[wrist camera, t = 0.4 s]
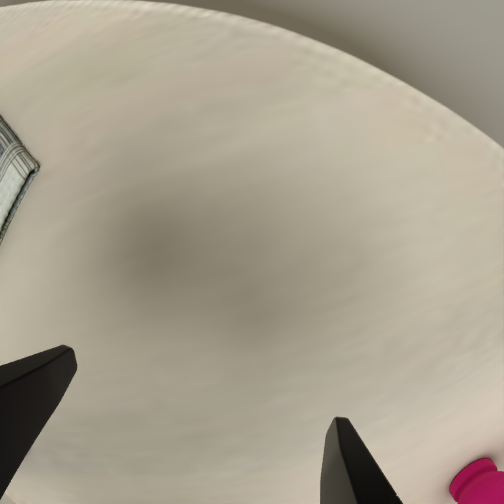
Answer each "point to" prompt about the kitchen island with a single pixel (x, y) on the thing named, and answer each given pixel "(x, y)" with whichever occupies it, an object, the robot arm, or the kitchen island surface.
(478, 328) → the kitchen island surface
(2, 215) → the dish towel
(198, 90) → the kitchen island surface
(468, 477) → the pepper mill
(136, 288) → the kitchen island surface
